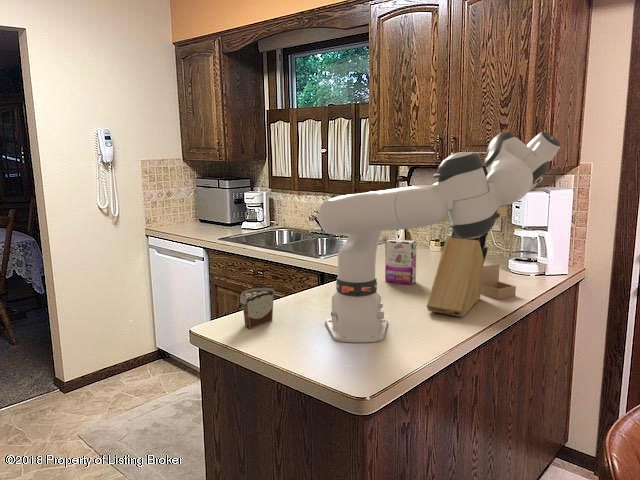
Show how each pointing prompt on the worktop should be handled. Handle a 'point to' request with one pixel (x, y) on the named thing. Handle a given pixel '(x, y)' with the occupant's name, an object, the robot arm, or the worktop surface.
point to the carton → (495, 283)
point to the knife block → (458, 276)
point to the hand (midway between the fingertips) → (496, 200)
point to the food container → (257, 306)
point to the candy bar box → (400, 261)
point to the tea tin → (502, 210)
